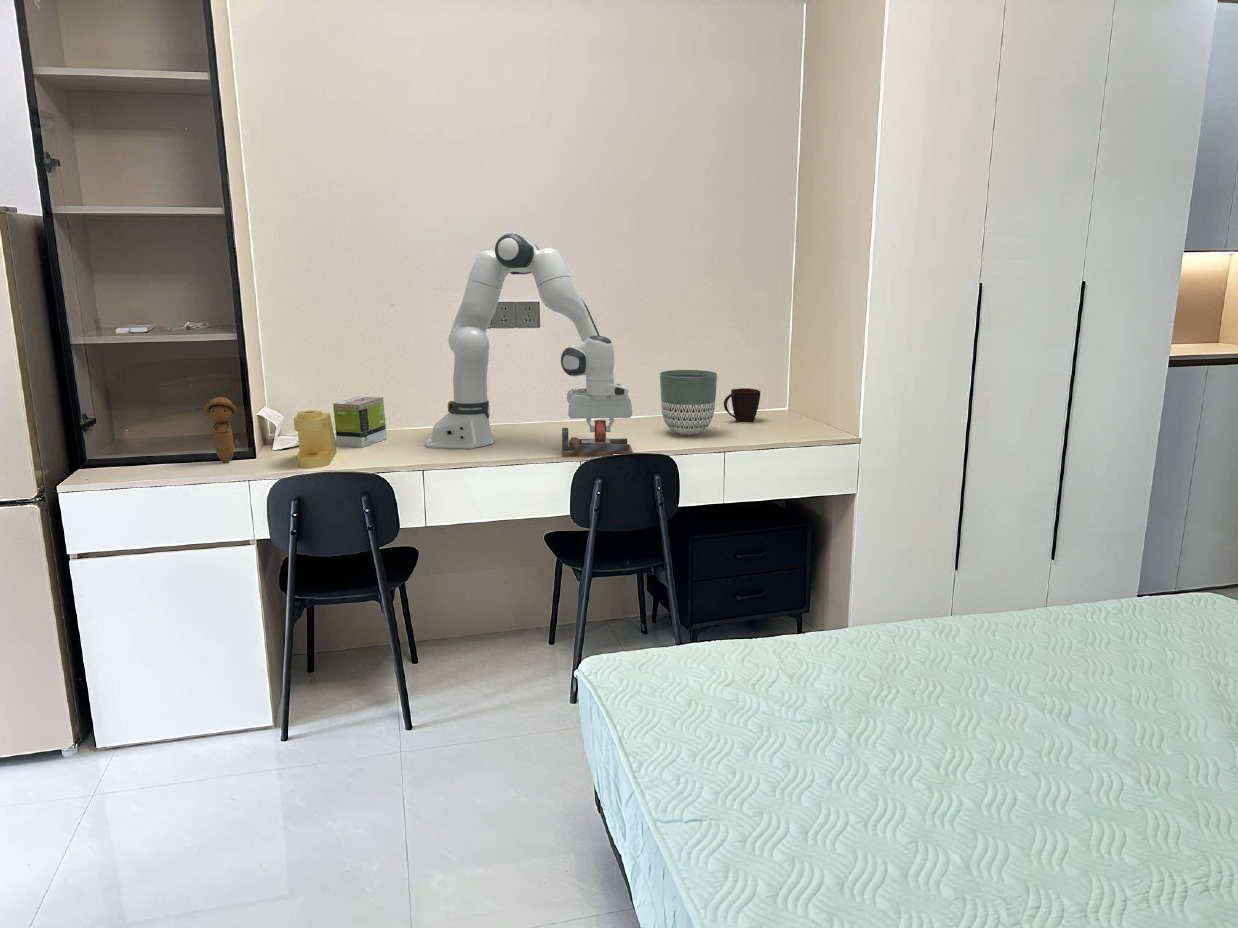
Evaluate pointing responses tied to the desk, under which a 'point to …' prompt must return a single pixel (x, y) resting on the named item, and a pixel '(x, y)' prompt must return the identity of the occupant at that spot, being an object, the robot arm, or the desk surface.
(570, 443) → the walnut ball
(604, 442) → the ram
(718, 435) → the desk surface
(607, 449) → the press bed
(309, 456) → the clamp
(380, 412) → the tea box
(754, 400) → the cup
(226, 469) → the desk surface
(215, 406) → the figurine
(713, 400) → the planter
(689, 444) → the desk surface
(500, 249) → the robot arm
